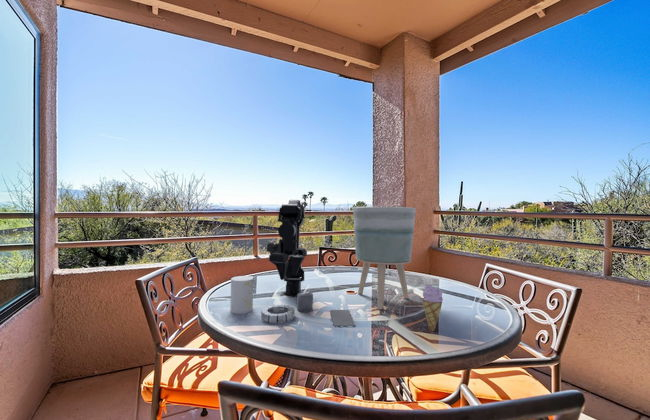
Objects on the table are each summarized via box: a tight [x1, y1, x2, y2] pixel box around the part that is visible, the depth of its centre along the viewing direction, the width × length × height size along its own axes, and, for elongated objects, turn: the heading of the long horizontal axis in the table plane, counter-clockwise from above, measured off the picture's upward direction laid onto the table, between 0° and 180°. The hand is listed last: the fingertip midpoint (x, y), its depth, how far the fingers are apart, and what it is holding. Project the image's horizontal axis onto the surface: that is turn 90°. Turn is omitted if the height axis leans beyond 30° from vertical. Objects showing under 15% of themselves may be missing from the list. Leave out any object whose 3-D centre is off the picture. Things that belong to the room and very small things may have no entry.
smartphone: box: [329, 309, 356, 328], centre depth 102 cm, size 8×1×15 cm
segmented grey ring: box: [260, 304, 296, 324], centre depth 102 cm, size 12×12×2 cm
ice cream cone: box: [421, 284, 444, 332], centre depth 93 cm, size 7×6×15 cm
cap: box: [296, 291, 314, 313], centre depth 110 cm, size 6×6×7 cm
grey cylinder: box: [230, 275, 254, 315], centre depth 109 cm, size 8×8×12 cm
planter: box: [352, 206, 416, 310], centre depth 124 cm, size 26×26×40 cm
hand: (288, 277), depth 110 cm, fingers open, 9 cm apart
